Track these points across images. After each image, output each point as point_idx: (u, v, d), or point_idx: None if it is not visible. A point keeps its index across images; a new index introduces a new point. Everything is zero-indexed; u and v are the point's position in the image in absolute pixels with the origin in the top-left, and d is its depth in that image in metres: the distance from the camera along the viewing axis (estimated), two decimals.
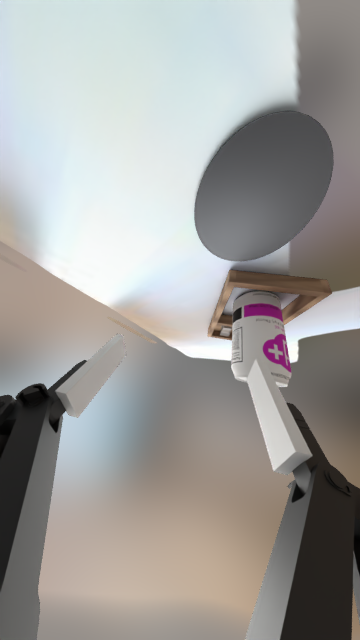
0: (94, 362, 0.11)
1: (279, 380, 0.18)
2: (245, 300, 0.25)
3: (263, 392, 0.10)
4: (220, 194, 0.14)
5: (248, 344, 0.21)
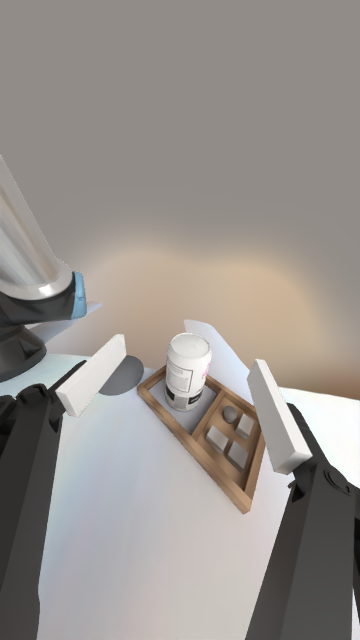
0: (94, 362, 0.11)
1: (181, 335, 0.27)
2: None
3: (263, 392, 0.10)
4: None
5: None
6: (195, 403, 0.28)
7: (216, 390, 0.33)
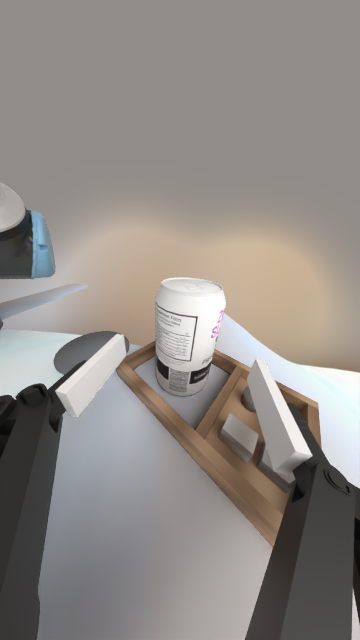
0: (94, 362, 0.11)
1: (178, 280, 0.18)
2: None
3: (263, 392, 0.10)
4: (70, 353, 0.24)
5: None
6: (200, 382, 0.19)
7: (228, 369, 0.23)
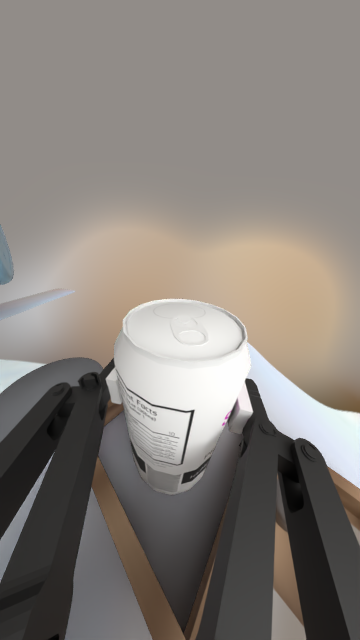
0: None
1: (164, 303, 0.11)
2: None
3: None
4: (15, 399, 0.17)
5: None
6: (200, 474, 0.11)
7: None
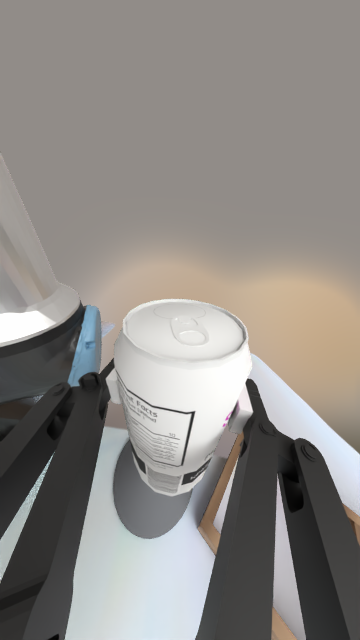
0: None
1: (164, 303, 0.11)
2: None
3: None
4: (130, 480, 0.20)
5: None
6: (200, 475, 0.11)
7: None
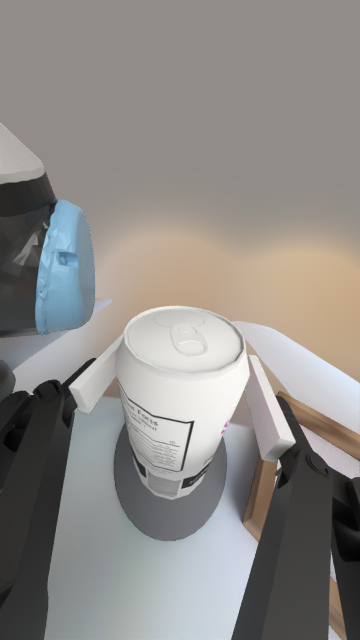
0: (104, 360, 0.11)
1: (164, 310, 0.11)
2: None
3: (254, 386, 0.11)
4: None
5: None
6: (200, 478, 0.11)
7: None
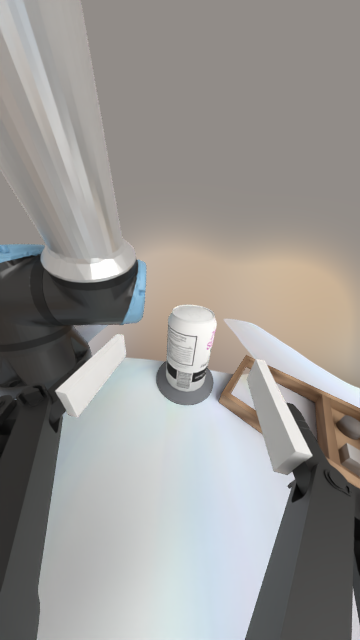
0: (94, 362, 0.11)
1: (183, 306, 0.25)
2: (166, 369, 0.28)
3: (263, 392, 0.10)
4: None
5: None
6: (199, 381, 0.25)
7: (310, 396, 0.27)
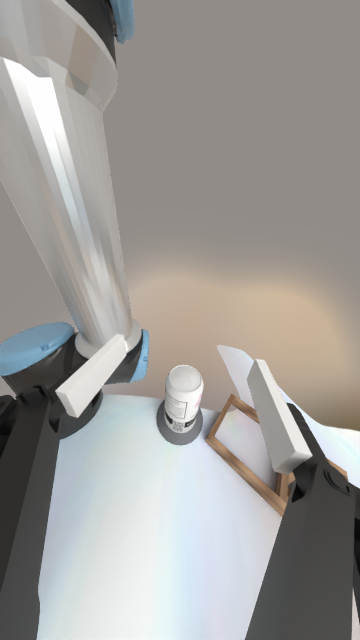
0: (94, 362, 0.11)
1: (178, 367, 0.32)
2: None
3: (263, 392, 0.10)
4: None
5: None
6: (190, 425, 0.32)
7: None
